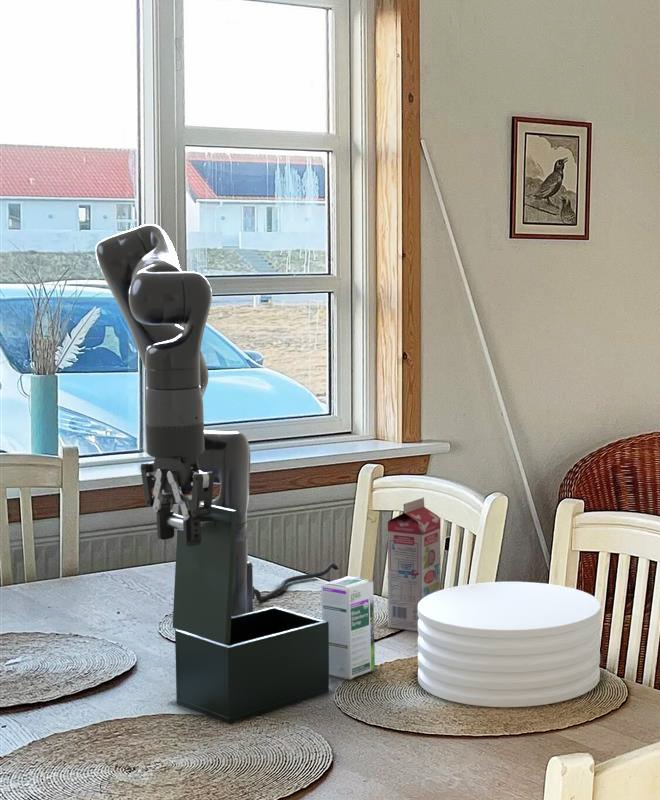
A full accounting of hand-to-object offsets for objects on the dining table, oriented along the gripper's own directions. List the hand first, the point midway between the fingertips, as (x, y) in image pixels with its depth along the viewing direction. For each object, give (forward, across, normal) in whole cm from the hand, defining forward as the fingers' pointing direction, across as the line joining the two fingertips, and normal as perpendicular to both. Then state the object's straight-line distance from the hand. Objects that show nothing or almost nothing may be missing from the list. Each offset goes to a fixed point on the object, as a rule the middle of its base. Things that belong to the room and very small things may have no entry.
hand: (179, 541), depth 186 cm
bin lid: (+5, 0, -4) cm, 6 cm away
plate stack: (+26, -21, -43) cm, 55 cm away
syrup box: (+26, -1, -28) cm, 39 cm away
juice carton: (+26, +11, -54) cm, 61 cm away
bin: (+25, 0, -12) cm, 28 cm away
